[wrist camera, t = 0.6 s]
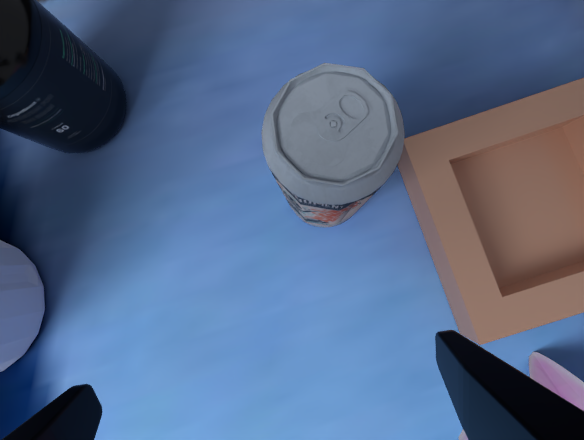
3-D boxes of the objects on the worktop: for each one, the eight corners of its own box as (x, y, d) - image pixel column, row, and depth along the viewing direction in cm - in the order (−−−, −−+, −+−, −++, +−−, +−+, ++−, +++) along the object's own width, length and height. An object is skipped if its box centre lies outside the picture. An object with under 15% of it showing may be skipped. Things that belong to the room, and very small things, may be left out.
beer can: (272, 190, 23) (225, 123, 11) (324, 140, 23) (334, 19, 11) (323, 243, 22) (332, 233, 10) (377, 192, 22) (446, 123, 11)
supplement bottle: (47, 168, 24) (-215, 86, 12) (27, 78, 25) (-238, -82, 13) (140, 138, 24) (-34, 25, 12) (117, 48, 25) (-70, -143, 13)
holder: (653, 272, 21) (701, 275, 18) (460, 333, 21) (480, 344, 19) (573, 90, 22) (607, 69, 20) (392, 151, 23) (402, 139, 20)
